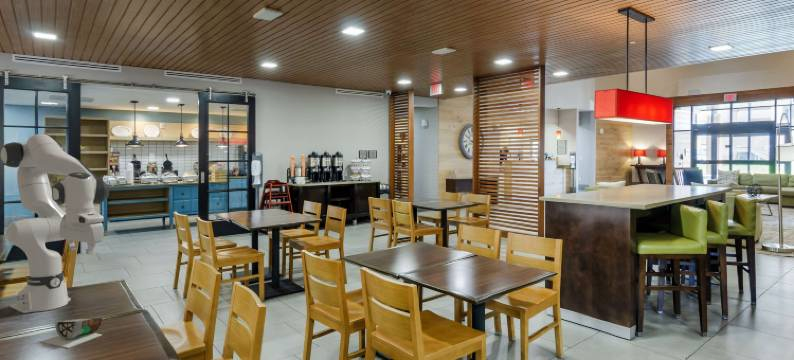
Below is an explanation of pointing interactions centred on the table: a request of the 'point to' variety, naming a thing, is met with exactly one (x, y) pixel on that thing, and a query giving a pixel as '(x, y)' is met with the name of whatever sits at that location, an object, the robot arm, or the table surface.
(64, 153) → the robot arm
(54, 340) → the cream flat rectangular plate
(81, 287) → the table surface
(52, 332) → the table surface
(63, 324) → the food container
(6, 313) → the table surface
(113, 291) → the table surface
